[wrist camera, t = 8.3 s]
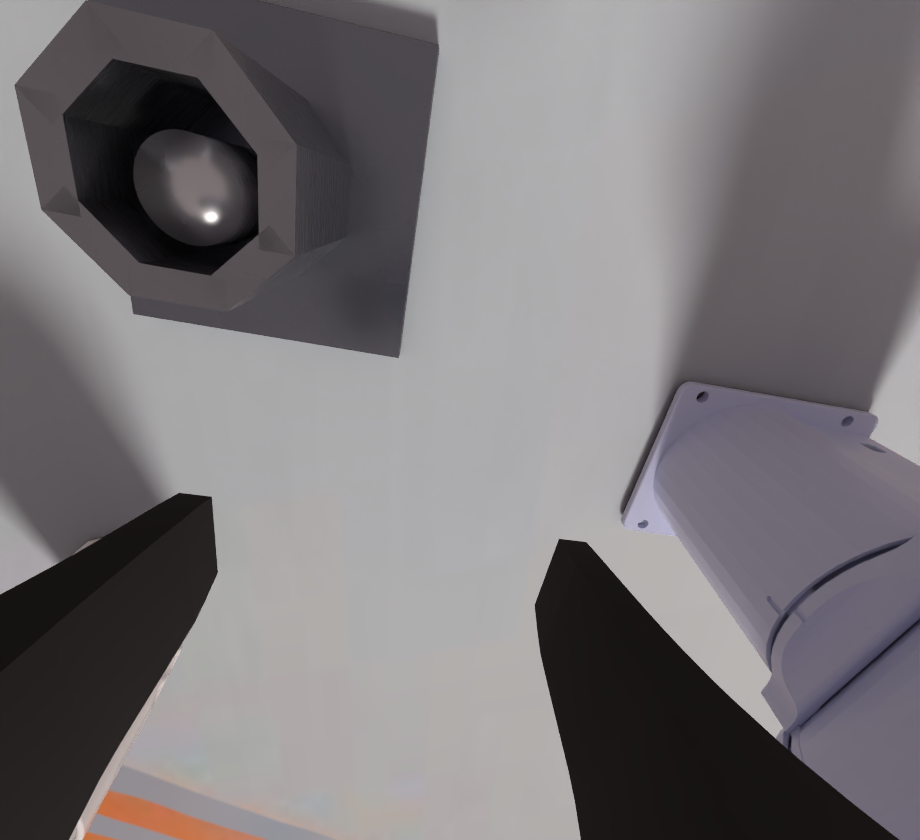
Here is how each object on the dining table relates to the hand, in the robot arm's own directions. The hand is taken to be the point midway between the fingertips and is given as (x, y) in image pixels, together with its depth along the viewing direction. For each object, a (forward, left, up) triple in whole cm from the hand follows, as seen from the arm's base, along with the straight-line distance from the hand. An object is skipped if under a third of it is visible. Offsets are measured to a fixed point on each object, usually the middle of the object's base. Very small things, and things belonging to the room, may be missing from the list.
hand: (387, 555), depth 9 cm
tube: (+6, -6, -10) cm, 13 cm away
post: (+6, -6, -10) cm, 13 cm away
